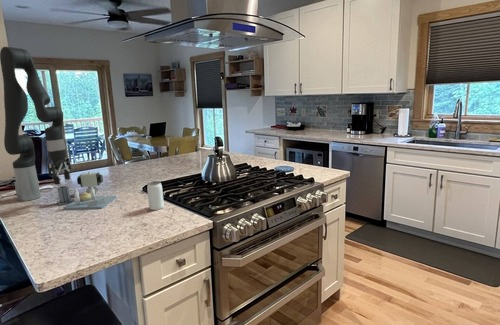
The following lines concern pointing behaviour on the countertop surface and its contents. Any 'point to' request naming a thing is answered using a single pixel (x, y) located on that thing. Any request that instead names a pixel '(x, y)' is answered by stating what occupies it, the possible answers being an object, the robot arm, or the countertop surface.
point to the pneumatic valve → (90, 181)
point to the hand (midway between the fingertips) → (62, 181)
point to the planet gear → (64, 196)
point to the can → (155, 195)
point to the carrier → (89, 201)
